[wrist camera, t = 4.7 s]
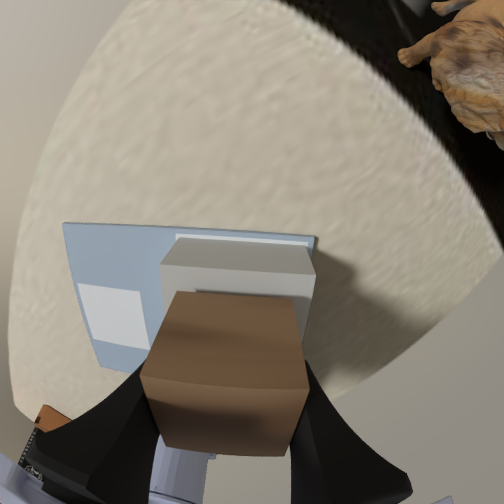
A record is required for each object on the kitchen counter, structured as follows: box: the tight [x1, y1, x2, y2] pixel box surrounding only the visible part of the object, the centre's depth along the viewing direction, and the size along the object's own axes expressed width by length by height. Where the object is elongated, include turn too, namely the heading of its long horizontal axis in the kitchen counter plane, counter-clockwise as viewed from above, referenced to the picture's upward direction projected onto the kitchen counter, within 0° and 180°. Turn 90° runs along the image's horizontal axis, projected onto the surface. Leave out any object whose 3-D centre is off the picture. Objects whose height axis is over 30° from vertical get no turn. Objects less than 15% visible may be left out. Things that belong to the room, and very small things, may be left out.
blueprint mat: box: [62, 222, 315, 374], centre depth 18 cm, size 13×16×1 cm
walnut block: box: [140, 291, 310, 456], centre depth 10 cm, size 5×5×5 cm
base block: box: [159, 237, 316, 345], centre depth 15 cm, size 7×7×4 cm
